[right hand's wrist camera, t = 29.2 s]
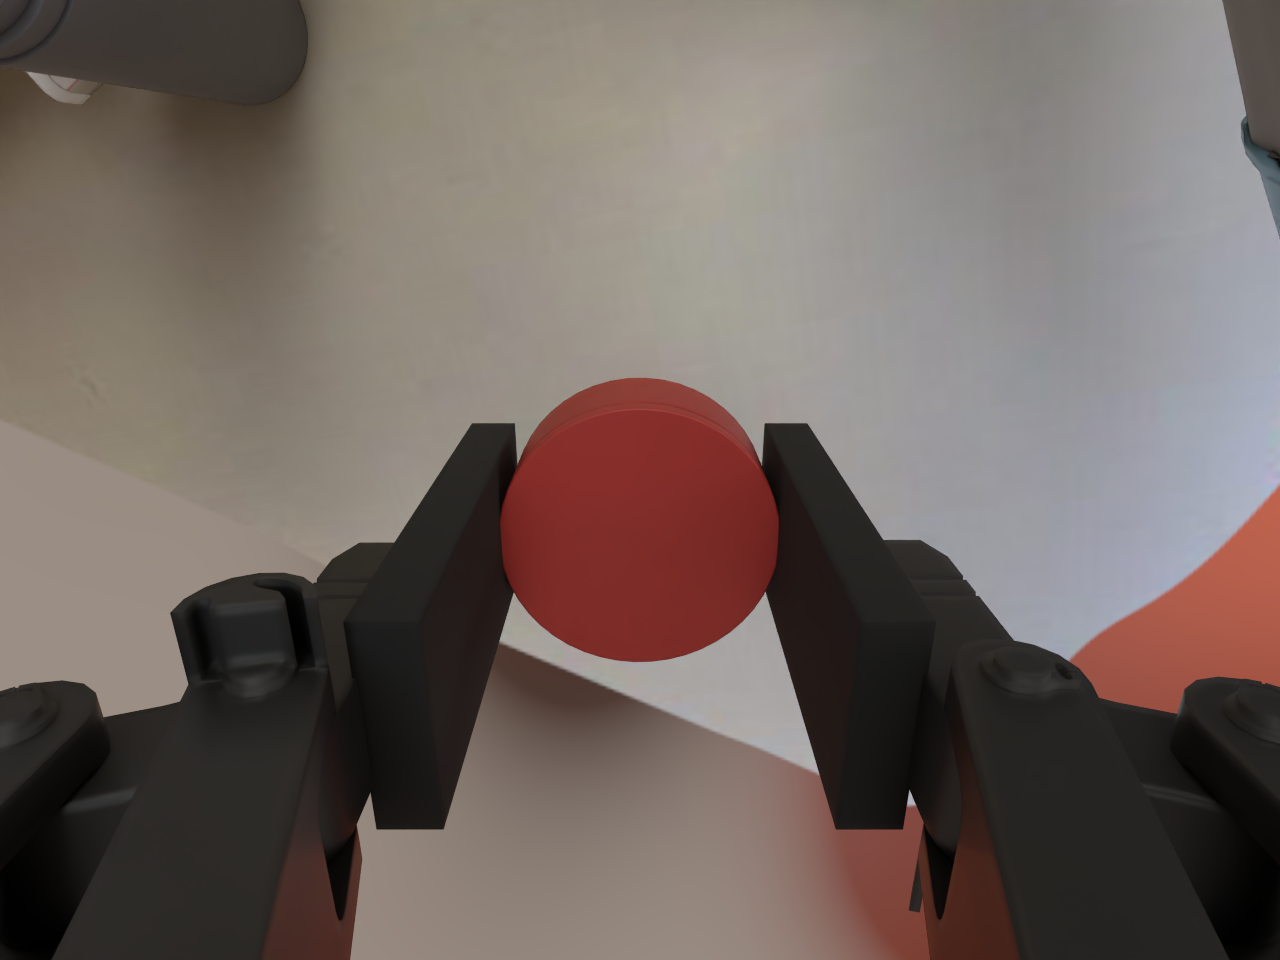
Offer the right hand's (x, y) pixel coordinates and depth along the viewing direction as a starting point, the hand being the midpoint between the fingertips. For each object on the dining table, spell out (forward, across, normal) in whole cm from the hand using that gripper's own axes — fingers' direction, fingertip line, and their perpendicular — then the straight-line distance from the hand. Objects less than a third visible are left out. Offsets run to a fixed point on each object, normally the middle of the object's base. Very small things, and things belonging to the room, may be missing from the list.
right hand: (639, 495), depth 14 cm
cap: (-2, 0, 0) cm, 2 cm away
